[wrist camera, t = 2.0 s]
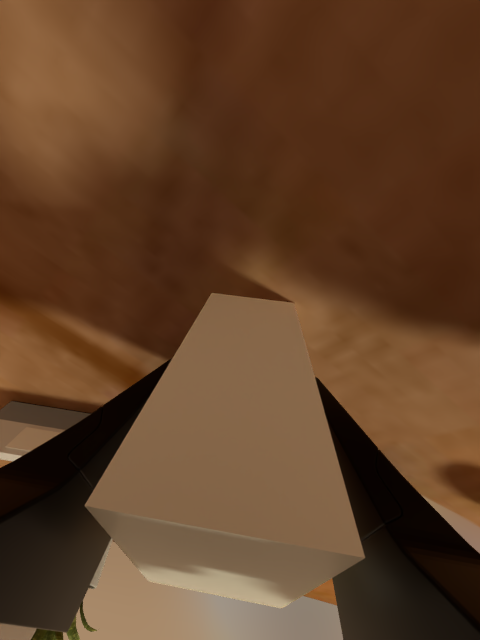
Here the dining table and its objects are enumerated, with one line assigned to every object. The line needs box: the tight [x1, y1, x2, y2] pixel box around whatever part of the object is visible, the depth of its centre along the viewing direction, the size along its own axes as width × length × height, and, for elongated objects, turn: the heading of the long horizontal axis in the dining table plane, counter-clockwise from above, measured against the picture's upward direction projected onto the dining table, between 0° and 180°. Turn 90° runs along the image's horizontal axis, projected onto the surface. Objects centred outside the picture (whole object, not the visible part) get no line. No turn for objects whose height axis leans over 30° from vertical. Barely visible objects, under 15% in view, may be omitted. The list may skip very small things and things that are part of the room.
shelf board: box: [0, 401, 90, 461], centre depth 18 cm, size 26×12×4 cm, turn 85°
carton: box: [85, 293, 365, 608], centre depth 8 cm, size 4×6×8 cm
